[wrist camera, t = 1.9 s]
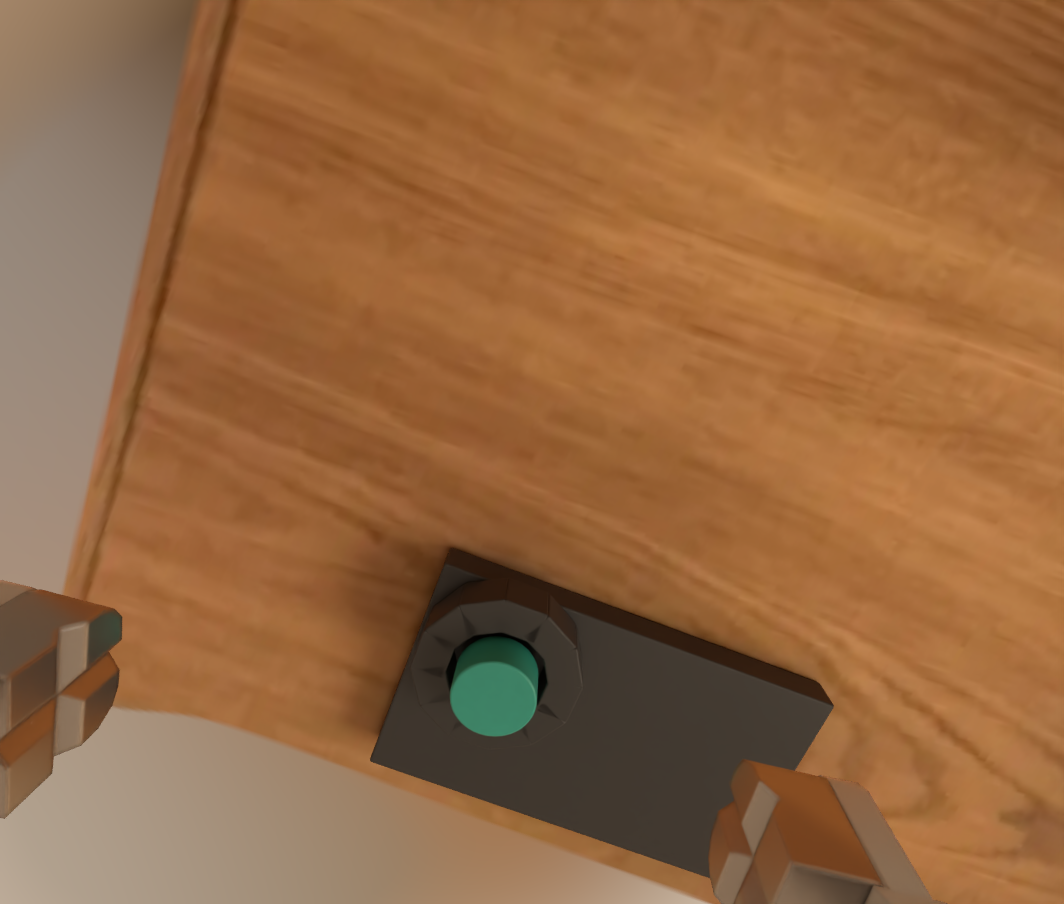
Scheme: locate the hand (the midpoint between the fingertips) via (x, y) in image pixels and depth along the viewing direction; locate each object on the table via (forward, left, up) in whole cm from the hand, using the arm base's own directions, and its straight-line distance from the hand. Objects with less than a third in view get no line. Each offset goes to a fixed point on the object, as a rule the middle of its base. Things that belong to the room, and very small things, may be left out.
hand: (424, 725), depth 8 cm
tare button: (+2, -7, -12) cm, 14 cm away
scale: (+7, -9, -15) cm, 19 cm away
